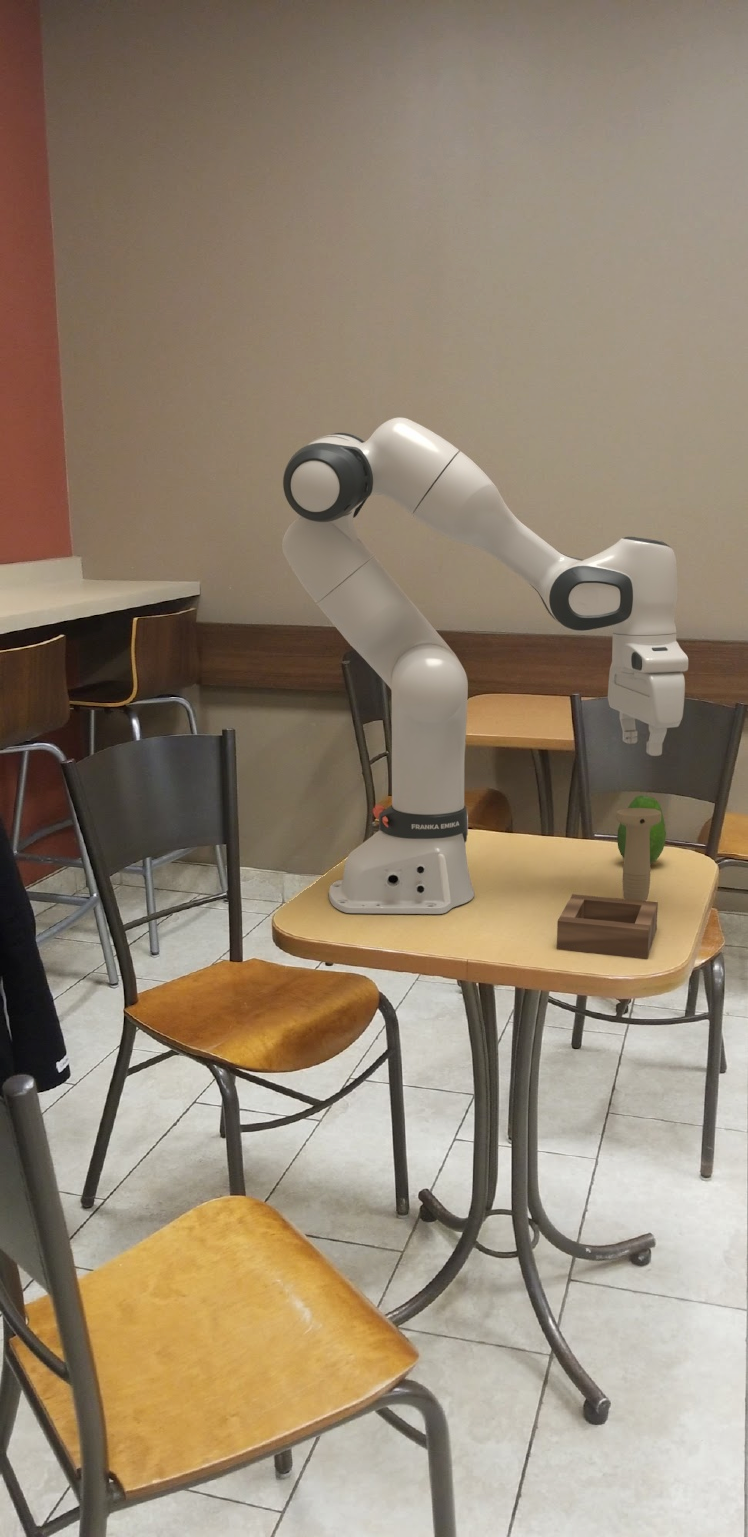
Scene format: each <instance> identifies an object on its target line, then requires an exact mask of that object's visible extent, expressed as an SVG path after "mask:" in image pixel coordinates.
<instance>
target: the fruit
mask: <svg viewBox="0 0 748 1537" xmlns="http://www.w3.org/2000/svg"><path fill="white" fill-rule="evenodd" d="M628 808H648V809H656V810H659V811H661V821H660V822H659V823H658V824H656V825H654V826H652V827H651V828H650V865H652V864H654V863H655V862H656V861H657V860H658V859H659V857H660V856H661V854H662V853H663V851H664V848H665V845H666V834H667V833H666V832H667V831H666V825H665V820H664V814H663V810H662V808H661V806H660V803H659V801H658V800H656V799H655V798H654V797H653V796H649V795H644V794H643V795H640V796H639V795H638V796H636V797H635V798H633V800H632V801H631V802H630V804H629V806H628ZM616 839H617V840H616V842H617V848H618V852H619V854H620V855H621V857H622V858H623V859H624V855H625V845H626V826H625V825H623V824H621V823H620V822H619V826H618V828H617V836H616Z"/></svg>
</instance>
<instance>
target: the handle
mask: <svg viewBox="0 0 748 1537" xmlns="http://www.w3.org/2000/svg"><path fill="white" fill-rule="evenodd" d="M615 811H616V814H615V819H616V821H617V822H619V824H620V823H621V824H623V825H625V826H626V845H625V855H624V858H623V867H622V878H621V879H622V895H623V899H630V900H641V901H648V899H649V898H648V897H649V893H650V886H651V864H650V828H651V827H652V826H654V825H656V824H658V823H659V822H660V821H661V811H659V810H656V809H648V808H620V809H617V810H615Z"/></svg>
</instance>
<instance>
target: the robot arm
mask: <svg viewBox="0 0 748 1537" xmlns="http://www.w3.org/2000/svg"><path fill="white" fill-rule="evenodd" d="M282 485H283V486H282V487H283V493H284V497H285V499H286V501H287V503H288V505H289V506H290V508H291V509H292V510H293V511H294V513H297V514H298V516H297V518H295V520H293V521H292V523H290V525H289V526H288V528H287V529H286V531H285V533H284V535H283V538H282V542H281V543H282V544H281V547H282V548H281V549H282V553H283V555H284V557H285V559H286V561H287V563H288V565H289V567H290V568H291V570H292V572H293V573H294V575H295V576H296V578H297V579H298V581H299V583H300V584H301V585H302V587H303V588H304V590H305V591H306V592H307V594H308V595H309V596H310V598H311V599H312V600H313V601H314V603H316V606H318V607H319V609H320V610H321V611H322V613H323V614H324V615H325V616H326V617H327V618H328V620H329V621H330V622H331V623H332V625H333V626H334V627H335V628H336V629H337V631H338V632H339V633H340V634H341V635H342V637H343V638H344V639H345V640H346V642H347V643H348V644H349V645H350V647H352V648H353V650H355V651H356V652H357V653H358V654H359V656H360V657H362V658H363V659H364V660H365V662H366V663H367V664H368V665H369V666H370V667H371V668H372V670H374V672H375V673H376V674H377V675H378V676H379V677H380V678H381V679H382V680H383V681H384V683H385V684H386V685H387V686H388V688H389V689H390V691H391V804H390V805H389V806H388V807H384V805H383V804H377V805H375V806H374V807H373V809H372V813H373V815H374V817H375V818H376V819H377V820H378V829H379V830H378V831H377V832H376V833H374V834H373V835H371V837H369V838H368V839H366V840H365V841H364V842H363V843H360V844H359V846H357V847H356V848H355V849H353V850H352V851H351V852H350V853H349V854H348V856H347V858H346V861H345V864H344V869H343V872H342V873H343V875H342V879H340V880H339V879H338V880H336V881H334V882H333V883H331V885H330V886H329V889H328V898H329V902H330V903H331V906H333V907H334V908H335V909H337V910H338V911H340V912H343V913H347V914H391V915H393V914H403V915H404V914H405V915H406V914H409V915H411V914H414V915H415V914H417V915H419V914H420V915H427V914H428V915H441V914H446V913H447V912H449V911H450V910H452V909H453V908H455V907H458V906H461V905H463V904H466V903H468V902H470V901H472V900H473V899H474V897H475V891H474V888H473V884H472V881H471V876H470V872H469V871H470V870H469V865H468V859H467V857H468V856H467V848H466V843H467V840H468V839H467V838H468V834H469V815H468V814H469V813H468V807H467V806H466V805H465V756H466V755H465V754H466V740H467V739H466V738H467V722H468V720H467V719H468V696H469V695H468V693H469V691H468V690H469V689H468V687H469V684H468V683H469V682H468V681H469V680H468V676H467V673H466V671H465V669H464V667H463V665H462V663H461V661H460V659H459V658H458V656H457V654H456V653H455V652H454V651H453V650H452V649H451V647H450V646H449V645H448V643H447V642H446V641H445V639H444V638H443V637H442V636H441V635H440V634H439V633H438V631H437V630H436V629H435V628H434V627H433V626H432V625H431V624H432V623H430V622H429V620H428V619H427V618H426V617H425V615H423V613H422V612H421V611H420V609H419V608H418V607H417V606H416V605H415V604H414V602H413V601H412V600H411V599H410V598H409V597H408V595H407V594H406V593H405V592H404V590H403V589H402V588H401V587H400V585H399V584H398V583H397V582H396V581H395V579H394V578H393V577H392V576H391V575H390V573H389V572H388V570H386V569H385V567H384V565H383V564H382V563H381V562H380V561H379V559H378V558H377V557H376V556H375V555H374V553H373V552H372V551H371V550H370V548H369V547H368V546H367V545H366V544H365V543H364V541H363V540H362V539H361V537H360V536H359V534H358V533H357V531H356V529H355V526H354V518H356V517H357V516H358V514H359V512H360V511H361V509H363V508H362V507H363V506H364V505H365V503H366V501H367V500H368V499H369V497H370V496H375V495H377V496H383V497H385V498H388V499H389V500H391V501H392V502H394V503H395V504H397V505H398V506H400V508H402V509H404V511H406V512H407V513H409V515H411V516H412V517H414V518H415V519H416V520H417V521H419V522H420V523H422V524H423V525H424V526H426V527H428V528H429V529H431V530H433V531H434V532H436V533H438V534H440V535H442V536H444V537H446V538H447V539H450V540H452V541H454V542H456V543H460V544H464V545H468V546H472V547H474V548H476V549H477V548H478V549H479V550H481V551H484V552H486V553H487V554H490V555H491V556H493V557H494V558H496V559H497V560H499V561H500V562H501V563H502V564H503V565H505V566H506V567H507V568H508V569H510V570H512V571H513V572H514V573H516V574H517V576H519V577H520V578H522V579H523V580H524V581H526V582H527V583H528V584H529V585H530V586H531V587H532V588H533V589H534V590H535V591H536V592H537V594H538V595H539V598H540V600H541V602H542V604H543V606H544V608H545V610H546V611H547V613H548V615H550V616H551V618H552V619H554V620H555V621H556V622H557V623H559V624H560V625H561V626H563V627H564V628H566V629H568V630H571V631H573V632H574V631H575V632H580V633H585V632H586V633H587V632H591V631H594V630H597V629H601V628H606V627H607V628H608V627H609V626H611V627H612V650H611V652H612V653H611V654H612V655H611V664H610V667H609V673H608V674H609V676H608V687H607V701H608V706H609V707H610V708H611V709H613V710H615V711H617V712H619V715H618V716H619V721H620V726H621V729H622V741H623V742H624V743H626V744H636V743H637V742H638V733H639V732H638V730H636V729H637V728H636V721H635V720H637V721H640V722H642V723H644V724H647V725H648V732H649V738H648V741H646V744H645V745H646V749H645V752H646V754H648V755H650V756H652V757H654V756H655V757H658V756H661V755H662V754H663V743H664V740H665V738H666V735H667V733H668V732H667V731H668V729H670V728H678V727H679V726H680V724H681V721H682V719H683V718H684V707H685V693H686V680H685V675H684V673H683V672H687V671H688V670H689V658H688V655H687V653H685V652H684V650H683V649H682V648H681V646H680V644H679V642H678V641H677V631H678V630H677V627H676V626H677V625H676V623H675V622H676V621H675V612H676V607H677V603H678V592H679V590H678V589H679V588H678V585H679V584H678V582H679V580H678V579H679V578H678V565H677V558H676V554H675V551H674V549H673V548H672V547H671V546H670V545H669V544H667V543H665V542H664V541H662V540H661V541H659V540H658V539H657V540H656V539H651V538H644V537H636V536H625V537H622V538H620V539H619V540H618V541H617V542H615V543H614V544H613V545H611V546H610V547H608V548H606V549H605V550H602V551H601V552H599V553H597V554H595V555H593V556H590V557H588V558H586V559H582V558H578V557H573V556H568V555H567V554H564V553H562V552H560V551H558V550H557V549H556V548H554V547H553V546H552V545H550V544H549V543H547V541H546V540H544V539H543V538H541V537H540V536H539V535H538V534H537V533H536V532H534V531H533V530H532V529H531V528H529V527H528V526H526V525H525V524H524V523H522V522H521V521H520V520H519V519H518V518H517V517H516V515H514V513H513V511H511V509H509V507H508V505H507V504H506V502H505V501H504V498H503V496H502V495H501V493H500V492H499V489H498V487H497V486H496V485H495V483H494V482H493V481H492V480H491V478H490V477H489V476H488V475H487V474H486V473H485V472H484V470H482V468H480V466H478V465H477V463H475V462H474V461H473V460H472V459H471V458H470V457H469V456H467V455H466V454H465V453H464V452H462V451H461V450H460V449H459V448H457V447H456V446H455V445H453V444H452V443H451V442H449V441H448V440H446V439H444V438H443V437H442V436H440V435H438V434H437V433H435V432H433V431H432V430H431V429H429V428H427V427H425V426H424V425H421V424H420V423H417V422H416V421H413V420H411V419H410V418H406V417H400V416H399V417H393V418H390V419H388V420H386V421H385V422H383V423H382V424H380V425H379V426H378V427H377V428H376V429H375V430H374V431H373V433H372V434H371V435H370V437H369V438H368V439H367V440H363V439H362V438H360V437H358V436H357V435H354V434H351V433H347V432H335V433H331V434H327V435H322V436H320V437H317V438H314V439H313V440H311V441H310V442H309V443H307V444H306V445H305V446H303V447H301V448H300V449H298V450H297V451H296V452H295V453H294V454H293V455H292V456H291V458H290V459H289V461H288V462H287V464H286V467H285V470H284V472H283V477H282Z"/></svg>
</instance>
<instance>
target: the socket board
mask: <svg viewBox="0 0 748 1537" xmlns="http://www.w3.org/2000/svg"><path fill="white" fill-rule="evenodd" d="M570 896H571V897H570V898H569V900H568V901H567V902H566V905H565V906H564V908H563V910H562V912H561V914H560V915H559V917H558V919H557V923H556V924H557V926H556V927H557V928H556V929H557V930H556V950H563V951H572V952H582V953H590V954H598V955H599V954H600V955H607V956H615V957H616V956H618V957H624V958H625V957H627V958H636V959H637V958H638V959H645V960H648V958H649V955H650V952H651V948H652V946H653V942H654V939H655V936H656V932H657V929H658V911H659V910H658V906H659V905H658V904H659V902H658V901H649V900H646V901H641V900H630V899H624V898H618V897H605V896H598V895H597V896H595V895H585V894H576V893H575V894H574V893H572V894H571V895H570Z"/></svg>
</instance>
